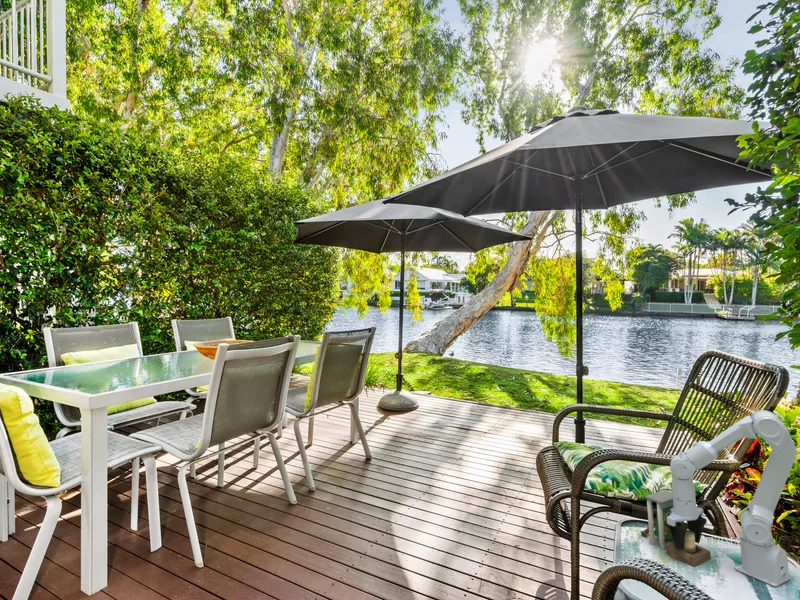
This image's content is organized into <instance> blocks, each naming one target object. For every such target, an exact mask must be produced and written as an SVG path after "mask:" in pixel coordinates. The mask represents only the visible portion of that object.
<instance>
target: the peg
mask: <svg viewBox="0 0 800 600" xmlns="http://www.w3.org/2000/svg"><path fill="white" fill-rule="evenodd" d="M695 545H696V542H695V534H694V532H692V531H690V530H689V529H687V531H686V534H685V545H684V549H683V550H682V551H684V552H686V553H689V554H691V555H693V554H695V553H696V547H695ZM680 550H681V549H680Z"/></svg>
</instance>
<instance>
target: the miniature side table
mask: <svg viewBox="0 0 800 600" xmlns="http://www.w3.org/2000/svg"><path fill="white" fill-rule="evenodd" d="M644 499H646V507H647V522H648V527H649V533H648V535H649V536H648V537H649V545H650V546H651V545H652V546H655V545H656V540H655V537H656V536H655V534H654V530H655V528H654V523H653V522H654V511H653V502H655V503H656V515H657V514H658V528H659V538H658V539H659V540H658V541H659V549H660V550H663V551H666V544H665V543H666V540H665V539H664V525H663V511H662V509H664V508H667V507H670V506H673V493H672V492H671V491H670V490H665V489H663V490H661V491H657V492H653V493H651V494H648V495H644Z"/></svg>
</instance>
